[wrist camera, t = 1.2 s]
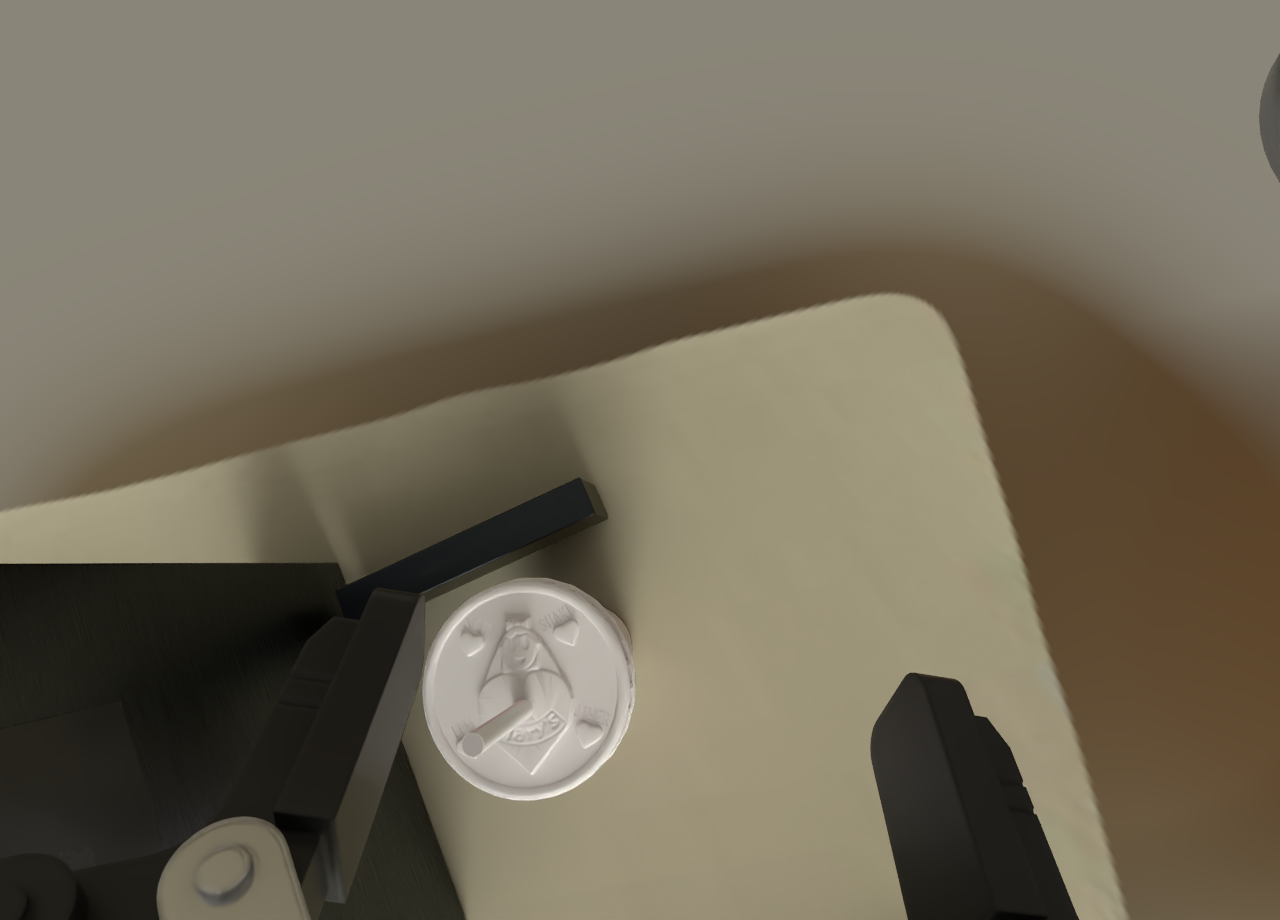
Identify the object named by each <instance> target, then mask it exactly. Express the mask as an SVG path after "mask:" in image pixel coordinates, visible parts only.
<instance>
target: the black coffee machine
mask: <svg viewBox="0 0 1280 920" xmlns="http://www.w3.org/2000/svg"><path fill="white" fill-rule="evenodd" d="M606 519H608V515H607V513H606V511H605V508H604V506H603V504H602V501H601V499H600V497H599V494H598V492H597V490H596V488H595V486H594V485H593V484H591V483H589V482H587V481H586V480H584V479H582V478H577V479H575V480H573V481H570V482H568V483H566V484H564V485H562V486H560V487H558V488H555V489H553V490H551V491H549V492H547V493H545V494H542V495H540V496H538V497H536V498H534V499H532V500H529V501H527V502H525V503H523V504H521V505H519V506H517V507H514V508H512V509H510V510H508V511H506V512H504V513H501V514H499V515H497V516H495V517H493V518H491V519H488V520H486V521H484V522H482V523H480V524H478V525H476V526H473V527H471V528H469V529H467V530H465V531H463V532H460V533H458V534H456V535H454V536H452V537H450V538H448V539H445V540H443V541H441V542H439V543H437V544H435V545H432V546H430V547H428V548H426V549H424V550H422V551H419V552H417V553H415V554H413V555H411V556H409V557H407V558H404V559H402V560H400V561H398V562H396V563H394V564H391V565H389V566H387V567H385V568H383V569H381V570H378V571H376V572H374V573H372V574H370V575H368V576H366V577H363V578H361V579H359V580H357V581H355V582H353V583H350V584H348V585H345V582H344V580H343V577H342V574H341V571H340V568H339V566H338V564H337V563H94V564H0V859H3V858H7V857H10V856H13V855H19V854H25V853H41V854H48V855H51V856H54V857H56V858H59V859H60V860H62V861H63V862H64V863H66V864H67V866H68V867H69V868H70V869H71V870H72V871H74V870H79V869H84V868H89V867H94V866H99V865H105V864H110V863H115V862H120V861H125V860H130V859H135V858H140V857H145V856H149V855H152V854H156V853H159V852H161V851H164V850H167V849H169V848H171V847H173V846H175V845H177V844H179V843H181V842H182V841H184V840H186V839H187V838H189V837H190V836H192V835H193V834H194V833H196V832H197V831H198V830H199V829H201V828H202V827H203V826H204V825H205V824H206V823H207V822H208V821H209V820H210V819H211V818H212V817H213V816H214V815H215V813H216V812H217V811H218V809H219V808H220V807H221V805H222V803H223V802H224V800H225V799H226V797H227V795H228V793H229V791H230V789H231V787H232V785H233V783H234V781H235V779H236V777H237V775H238V773H239V771H240V770H241V768H242V766H243V764H244V762H245V760H246V758H247V756H248V754H249V752H250V750H251V748H252V746H253V744H254V742H255V740H256V738H257V736H258V734H259V733H260V731H261V729H262V727H263V725H264V723H265V721H266V719H267V717H268V715H269V713H270V711H271V709H272V707H273V705H274V703H276V702H277V700H278V695H279V694H280V692H281V690H282V688H283V686H284V684H285V682H286V680H287V678H289V677H290V674H291V670H292V668H293V666H294V664H295V662H296V660H297V658H298V657H299V655H300V653H301V651H302V649H303V647H304V645H305V643H306V641H307V640H308V639H309V638H310V637H311V636H312V635H314V634H315V633H316V632H317V631H318V630H319V629H320V628H321V627H322V626H324V625H325V624H326V623H327V622H328V621H329V620H330V619H331V618H333V617H334V616H336V617H342V618H349V619H355V620H360V618H361V615H362V613H363V611H364V609H365V607H366V604H367V602H368V600H369V598H370V596H371V594H372V592H373V591H374V590H375V589H376V588H385V589H391V590H398V591H404V592H411V593H417V594H423V595H424V597H425V602H427V601H429V600H431V599H433V598H435V597H438V596H440V595H442V594H444V593H446V592H449V591H451V590H453V589H455V588H457V587H459V586H462V585H464V584H466V583H468V582H470V581H473V580H475V579H477V578H479V577H481V576H483V575H486V574H488V573H490V572H492V571H494V570H497V569H499V568H501V567H503V566H505V565H507V564H510V563H512V562H514V561H516V560H518V559H521V558H523V557H525V556H527V555H529V554H531V553H534V552H536V551H538V550H540V549H542V548H545V547H547V546H549V545H551V544H553V543H555V542H558V541H560V540H562V539H564V538H566V537H568V536H571V535H573V534H575V533H577V532H579V531H582V530H584V529H586V528H588V527H590V526H592V525H595V524H597V523H599V522H601V521H603V520H606ZM318 920H465V917H464V914H463V912H462V909H461V906H460V903H459V900H458V898H457V895H456V892H455V889H454V886H453V884H452V881H451V878H450V875H449V873H448V870H447V867H446V864H445V861H444V859H443V856H442V853H441V850H440V847H439V845H438V842H437V839H436V836H435V833H434V831H433V828H432V825H431V822H430V819H429V817H428V814H427V811H426V808H425V806H424V803H423V800H422V797H421V794H420V792H419V789H418V786H417V783H416V780H415V778H414V775H413V772H412V769H411V766H410V764H409V761H408V758H407V755H406V753H405V750H404V747H403V744H402V741H401V740H400V743H399V746H398V749H397V752H396V755H395V757H394V760H393V763H392V766H391V769H390V772H389V775H388V778H387V781H386V784H385V787H384V790H383V793H382V796H381V799H380V802H379V805H378V808H377V811H376V814H375V817H374V820H373V823H372V826H371V829H370V832H369V835H368V838H367V840H366V843H365V846H364V849H363V852H362V855H361V858H360V861H359V864H358V867H357V870H356V873H355V876H354V879H353V882H352V885H351V888H350V891H349V894H348V897H347V900H346V903H345V904H343V903H335V902H327V901H324V904H323V907H322V909H321V912H320V915H319V918H318Z"/></svg>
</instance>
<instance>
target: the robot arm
mask: <svg viewBox="0 0 1280 920" xmlns="http://www.w3.org/2000/svg"><path fill="white" fill-rule="evenodd" d="M424 637H425V597H424V595H423V594H417V593H411V592H404V591H398V590H391V589H385V588H376V589H375V590H374V591H373V592H372V594H371V596H370V598H369V600H368V602H367V604H366V607H365V609H364V611H363V613H362V615H361V618H360V620H355V619H349V618H342V617H336V616H334V617H333V618H331V619H330V620H329V621H328V622H327V623H326V624H325V625H324V626H322V627H321V628H320V629H319V630H318V631H317V632H316V633H315V634H314V635H312V636H311V637H310V638H309V639H308V640H307V641H306V643H305V645H304V647H303V649H302V651H301V653H300V655H299V657H298V658H297V660H296V662H295V664H294V666H293V668H292V670H291V674H290V677H289V678H287V680H286V682H285V684H284V686H283V688H282V690H281V692H280V694H279V695H278V700H277V702H276V703H274V705H273V707H272V709H271V711H270V713H269V715H268V717H267V719H266V721H265V723H264V725H263V727H262V729H261V731H260V733H259V734H258V736H257V738H256V740H255V742H254V744H253V746H252V748H251V750H250V752H249V754H248V756H247V758H246V760H245V762H244V764H243V766H242V768H241V770H240V771H239V773H238V775H237V777H236V779H235V781H234V783H233V785H232V787H231V789H230V791H229V793H228V795H227V797H226V799H225V800H224V802H223V803H222V805H221V807H220V808H219V809H218V811H217V812H216V813H215V815H214V816H213V817H212V818H211V819H210V820H209V821H208V822H207V823H206V824H205V825H204V826H203V827H202V828H201V829H199V830H198V831H197V832H196V833H194V834H193V835H192V836H190V837H189V838H187V839H186V840H184V841H182V842H181V843H179V844H177V845H175V846H173V847H171V848H169V849H167V850H164V851H161V852H159V853H156V854H152V855H149V856H145V857H140V858H135V859H130V860H125V861H120V862H115V863H110V864H105V865H99V866H94V867H89V868H84V869H79V870H74V871H72V870H71V869H70V868H69V867H68V866H67V864H66V863H64V862H63V861H62V860H60V859H59V858H56V857H54V856H51V855H48V854H41V853H25V854H19V855H13V856H10V857H7V858H3V859H0V920H318V918H319V915H320V912H321V909H322V907H323V904H324V901H327V902H335V903H343V904H345V903H346V900H347V897H348V894H349V891H350V888H351V885H352V882H353V879H354V876H355V873H356V870H357V867H358V864H359V861H360V858H361V855H362V852H363V849H364V846H365V843H366V840H367V838H368V835H369V832H370V829H371V826H372V823H373V820H374V817H375V814H376V811H377V808H378V805H379V802H380V799H381V796H382V793H383V790H384V787H385V784H386V781H387V778H388V775H389V772H390V769H391V766H392V763H393V760H394V757H395V755H396V752H397V749H398V746H399V743H400V740H401V737H402V734H403V731H404V728H405V725H406V722H407V719H408V716H409V713H410V710H411V707H412V704H413V701H414V698H415V695H416V692H417V689H418V685H419V681H420V677H421V673H422V667H423V661H424ZM871 760H872V765H873V769H874V773H875V778H876V782H877V787H878V791H879V795H880V800H881V804H882V808H883V813H884V817H885V821H886V826H887V830H888V835H889V839H890V843H891V848H892V852H893V856H894V861H895V865H896V869H897V874H898V878H899V883H900V887H901V891H902V896H903V900H904V904H905V909H906V913H907V917H908V920H1079V918H1078V916H1077V914H1076V912H1075V909H1074V907H1073V904H1072V902H1071V899H1070V897H1069V894H1068V892H1067V889H1066V887H1065V884H1064V882H1063V879H1062V877H1061V874H1060V872H1059V869H1058V867H1057V864H1056V862H1055V859H1054V857H1053V854H1052V852H1051V849H1050V847H1049V844H1048V842H1047V839H1046V837H1045V834H1044V832H1043V829H1042V827H1041V824H1040V822H1039V819H1038V817H1037V814H1034V813H1033V808H1034V807H1033V804H1032V802H1031V799H1030V797H1029V794H1028V792H1027V789H1026V787H1023V785H1022V782H1023V779H1022V777H1021V774H1020V772H1019V769H1018V767H1017V764H1016V762H1015V759H1014V757H1013V754H1012V751H1011V749H1010V747H1009V746H1008V745H1007V743H1006V742H1005V741H1004V739H1003V738H1002V737H1001V735H1000V734H999V733H998V732H997V730H996V729H995V728H994V726H993V725H992V724H991V722H990V721H989V720H988V719H987V717H980V716H974V713H973V710H972V707H971V705H970V702H969V699H968V697H967V694H966V691H965V689H964V687H963V686H962V684H961V683H960V682H959V681H957V680H956V679H951V678H945V677H938V676H932V675H925V674H919V673H909V674H908V675H906V676H905V678H904V679H903V681H902V682H901V684H900V685H899V687H898V688H897V690H896V692H895V693H894V695H893V696H892V698H891V699H890V701H889V702H888V704H887V706H886V707H885V709H884V710H883V712H882V713H881V715H880V716H879V718H878V720H877V721H876V723H875V725H874V728H873V731H872V736H871Z"/></svg>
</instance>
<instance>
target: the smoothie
mask: <svg viewBox="0 0 1280 920" xmlns="http://www.w3.org/2000/svg"><path fill="white" fill-rule="evenodd" d="M422 691H423V705H424V712H425V717H426V721H427V724H428V727H429V731H430V733H431V735H432V738H433V740H434V742H435V744H436V746H437V748H438V749H439V751H440V752H441V754H442V756H443V757H444V758H445V760H446V761H447V762H448V763H449V765H450V766H451V767H452V768H453V769H454V770H455V771H456V772H457V773H458V774H459V775H460V776H461V777H463V778H464V779H465V780H466V781H468V782H469V783H471V784H472V785H474V786H475V787H477V788H479V789H481V790H483V791H485V792H487V793H489V794H492V795H495V796H498V797H501V798H506V799H511V800H521V801H531V800H541V799H547V798H551V797H555V796H557V795H560V794H563V793H565V792H567V791H569V790H571V789H574V788H575V787H577V786H578V785H580V784H582V783H583V782H585V781H586V780H587V779H588V778H590V777H591V776H592V775H593V774H594V773H595V772H596V771H597V770H598V769H599V768H600V767H601V766H602V765H603V764H604V763H605V762H606V761H607V760H608V759H609V758H610V757H611V756H612V755H613V754H614V752H615V750H616V748H617V747H618V745H619V743H620V741H621V740H622V738H623V736H624V734H625V733H626V731H627V729H628V726H629V722H630V718H631V714H632V711H633V707H634V703H635V669H634V665H633V661H632V643H631V638H630V635H629V632H628V630H627V628H626V626H625V625H624V623H623V622H622V621H621V619H620V618H619V617H618V616H617V615H615V614H614V613H613V612H611V611H609V610H608V609H605V608H604V607H603V606H602V605H601V604H600V603H599V602H598V601H597V600H596V599H594V598H593V597H591V596H590V595H588V594H586V593H585V592H583V591H582V590H580V589H578V588H577V587H575V586H573V585H570V584H567V583H563V582H560V581H557V580H553V579H550V578H518V579H514V580H511V581H507V582H503V583H499V584H496V585H494V586H492V587H490V588H487V589H485V590H483V591H481V592H479V593H477V594H475V595H474V596H472V597H471V598H469V599H468V600H466V601H465V602H464V603H463V604H461V605H460V606H459V607H458V608H457V609H456V610H455V611H454V612H453V613H452V614H451V615H450V616H449V618H448V619H447V620H446V621H445V623H444V624H443V626H442V627H441V628H440V630H439V632H438V633H437V635H436V637H435V639H434V641H433V643H432V646H431V648H430V651H429V654H428V657H427V660H426V664H425V669H424V675H423V688H422Z"/></svg>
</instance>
